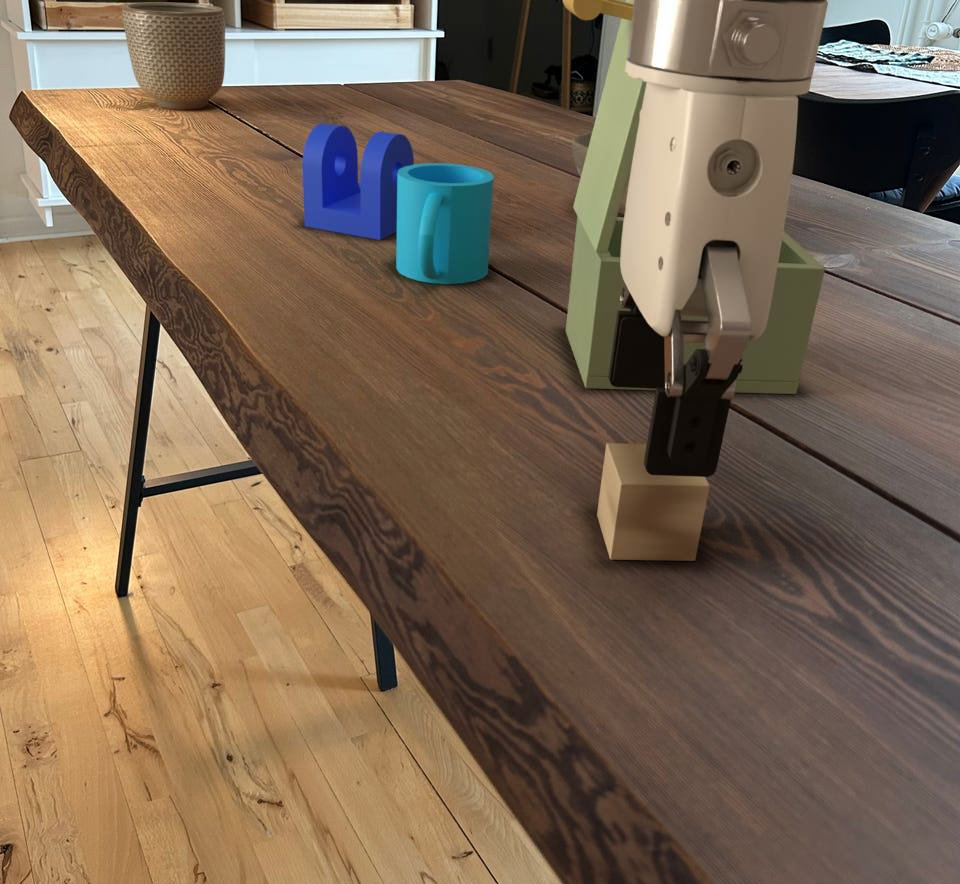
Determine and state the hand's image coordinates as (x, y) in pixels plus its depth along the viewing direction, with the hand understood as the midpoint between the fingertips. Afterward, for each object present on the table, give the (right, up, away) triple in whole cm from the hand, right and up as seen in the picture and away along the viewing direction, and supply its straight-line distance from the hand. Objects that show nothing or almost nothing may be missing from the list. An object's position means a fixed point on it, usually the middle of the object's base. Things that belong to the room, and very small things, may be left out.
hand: (656, 425), depth 50 cm
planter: (-52, +56, +100) cm, 126 cm away
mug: (-12, +17, +39) cm, 44 cm away
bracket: (-18, +27, +56) cm, 65 cm away
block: (0, -6, +4) cm, 7 cm away
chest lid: (+1, +22, +16) cm, 27 cm away
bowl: (+9, +28, +60) cm, 67 cm away
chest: (+6, +7, +25) cm, 27 cm away
